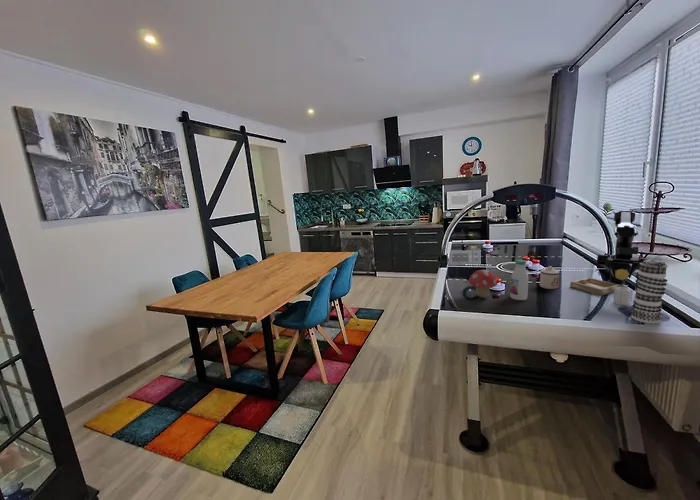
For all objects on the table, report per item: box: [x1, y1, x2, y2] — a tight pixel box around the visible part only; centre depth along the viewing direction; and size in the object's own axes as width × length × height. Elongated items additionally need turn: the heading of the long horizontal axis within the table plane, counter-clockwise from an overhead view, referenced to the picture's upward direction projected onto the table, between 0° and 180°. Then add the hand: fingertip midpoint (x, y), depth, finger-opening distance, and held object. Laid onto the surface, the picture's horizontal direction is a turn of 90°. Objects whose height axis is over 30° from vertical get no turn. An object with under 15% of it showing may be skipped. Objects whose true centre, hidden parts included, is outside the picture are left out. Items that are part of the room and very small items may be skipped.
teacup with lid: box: [539, 265, 560, 290], centre depth 165 cm, size 12×9×12 cm
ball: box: [615, 269, 629, 281], centre depth 137 cm, size 5×5×5 cm
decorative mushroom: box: [468, 269, 498, 299], centre depth 155 cm, size 13×13×15 cm
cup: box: [612, 286, 631, 306], centre depth 138 cm, size 5×5×7 cm
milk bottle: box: [509, 259, 529, 301], centre depth 151 cm, size 8×8×20 cm
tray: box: [569, 277, 622, 296], centre depth 158 cm, size 15×15×3 cm
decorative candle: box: [630, 258, 669, 324], centre depth 120 cm, size 9×9×25 cm
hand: (621, 277), depth 137 cm, fingers closed on ball, 5 cm apart
